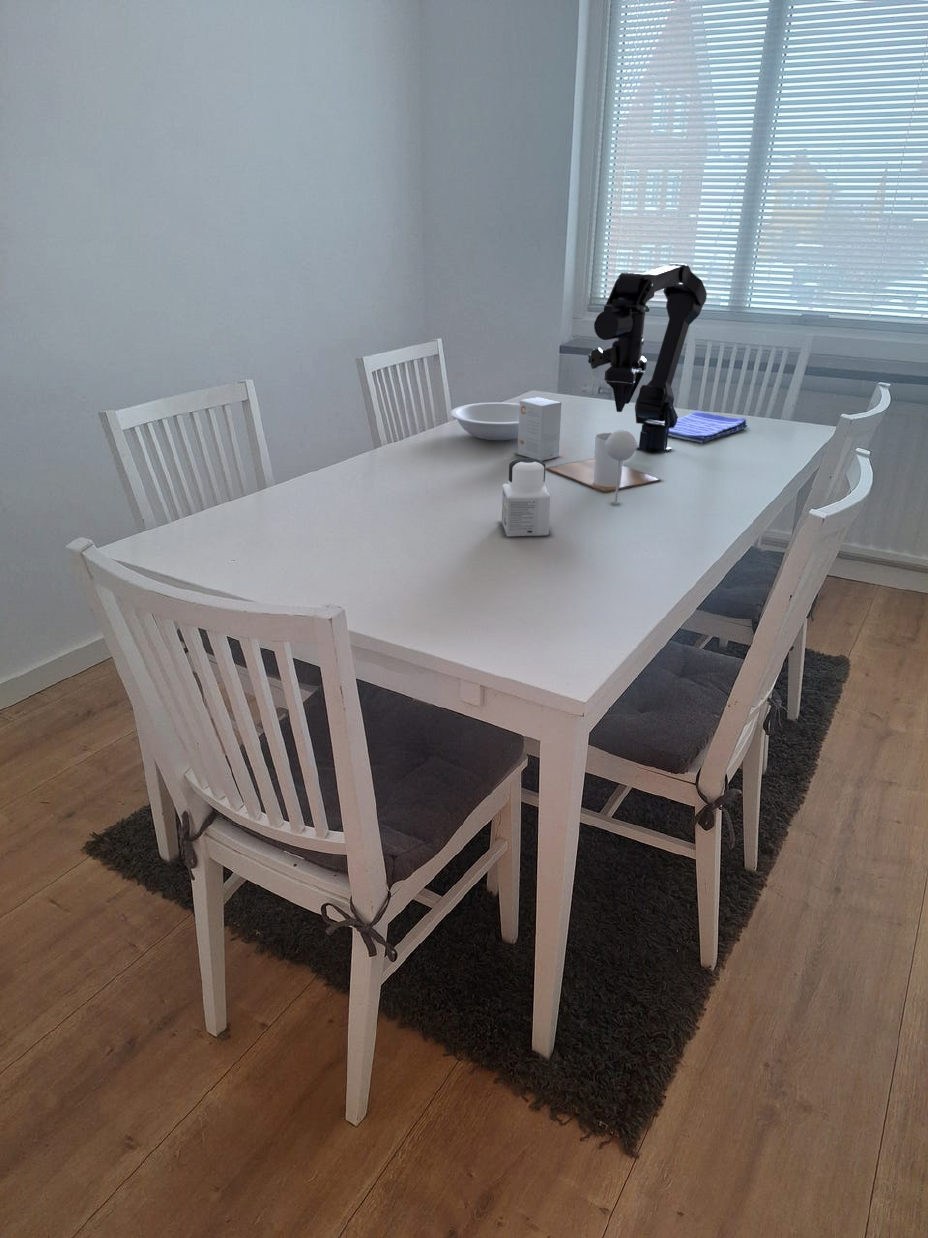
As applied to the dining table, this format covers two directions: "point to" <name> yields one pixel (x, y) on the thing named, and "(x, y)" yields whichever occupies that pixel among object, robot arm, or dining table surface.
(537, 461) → the container
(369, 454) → the dining table surface
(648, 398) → the robot arm
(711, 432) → the dish towel
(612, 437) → the lollipop
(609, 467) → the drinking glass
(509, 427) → the soup bowl
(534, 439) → the small box
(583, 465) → the glossy brown placemat
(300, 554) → the dining table surface
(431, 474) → the dining table surface
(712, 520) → the dining table surface
